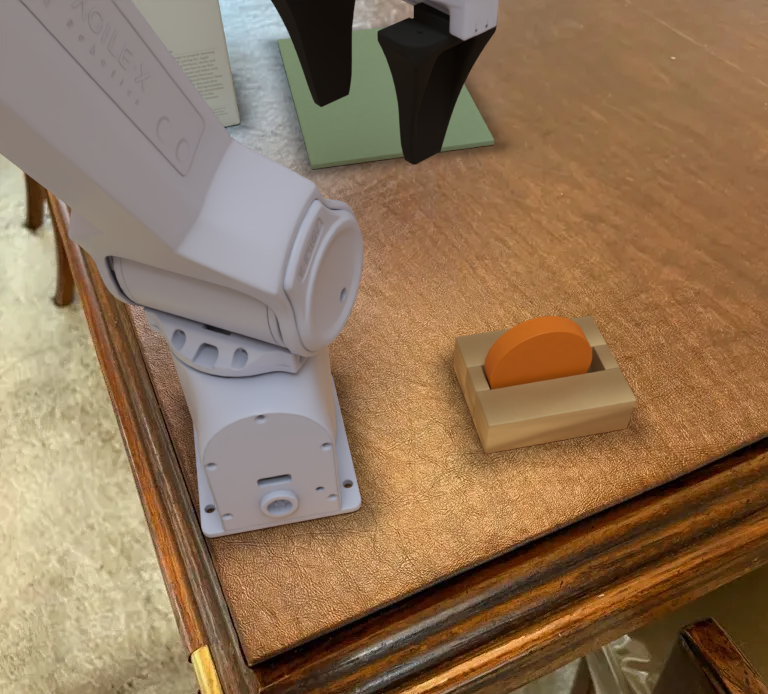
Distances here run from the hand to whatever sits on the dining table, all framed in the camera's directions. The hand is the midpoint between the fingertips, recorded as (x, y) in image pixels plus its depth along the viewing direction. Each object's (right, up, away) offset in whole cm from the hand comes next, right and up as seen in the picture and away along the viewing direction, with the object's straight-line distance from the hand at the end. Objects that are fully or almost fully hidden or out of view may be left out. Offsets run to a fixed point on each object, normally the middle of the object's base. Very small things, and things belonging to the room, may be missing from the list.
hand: (375, 126), depth 43 cm
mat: (0, +12, +22) cm, 25 cm away
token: (+9, -13, -1) cm, 16 cm away
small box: (-15, +10, +21) cm, 28 cm away
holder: (+9, -15, +1) cm, 17 cm away
